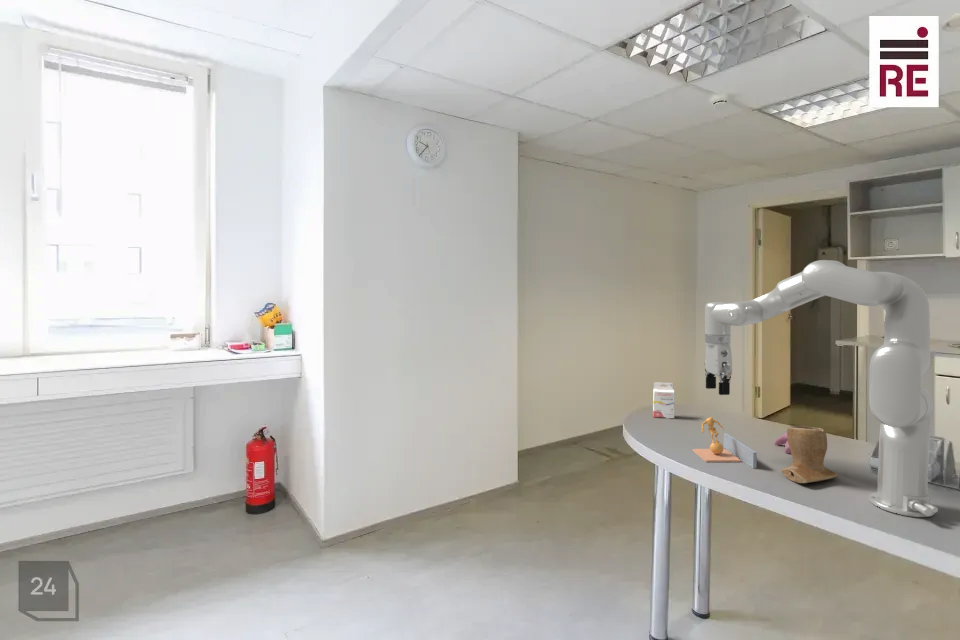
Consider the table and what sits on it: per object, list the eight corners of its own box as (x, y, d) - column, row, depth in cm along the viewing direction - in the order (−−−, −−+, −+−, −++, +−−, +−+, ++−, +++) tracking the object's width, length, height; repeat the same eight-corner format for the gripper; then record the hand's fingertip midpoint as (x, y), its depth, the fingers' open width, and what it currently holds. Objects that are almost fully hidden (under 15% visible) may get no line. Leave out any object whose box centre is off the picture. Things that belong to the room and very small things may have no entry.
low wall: (756, 468, 150) (756, 452, 149) (753, 468, 150) (753, 452, 149) (726, 447, 170) (726, 433, 169) (723, 447, 170) (723, 433, 169)
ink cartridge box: (653, 417, 209) (653, 384, 208) (652, 414, 213) (652, 381, 212) (674, 419, 206) (674, 384, 205) (673, 416, 211) (673, 382, 210)
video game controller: (797, 459, 161) (808, 441, 160) (784, 452, 162) (795, 434, 161) (784, 449, 171) (795, 432, 170) (772, 443, 171) (782, 426, 170)
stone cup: (805, 466, 150) (806, 419, 149) (844, 481, 139) (846, 429, 138) (768, 473, 146) (769, 424, 145) (805, 489, 134) (807, 436, 133)
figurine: (710, 457, 158) (708, 420, 158) (698, 452, 164) (696, 416, 164) (732, 454, 160) (730, 417, 160) (719, 449, 166) (717, 414, 166)
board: (741, 462, 155) (741, 460, 155) (706, 462, 156) (706, 460, 156) (725, 450, 166) (725, 448, 166) (692, 450, 167) (692, 448, 167)
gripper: (742, 342, 150) (741, 397, 151) (717, 337, 167) (717, 386, 168) (717, 342, 150) (717, 397, 151) (695, 337, 167) (695, 386, 168)
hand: (717, 391), depth 159 cm, fingers open, 9 cm apart
